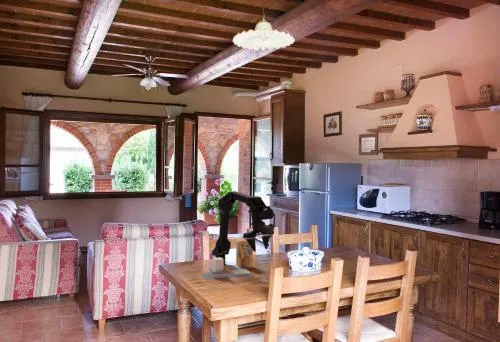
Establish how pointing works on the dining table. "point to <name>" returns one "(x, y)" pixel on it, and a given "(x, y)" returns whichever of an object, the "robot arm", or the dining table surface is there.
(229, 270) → the clip
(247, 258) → the candy box
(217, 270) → the plug
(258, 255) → the dining table surface
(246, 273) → the socket board
